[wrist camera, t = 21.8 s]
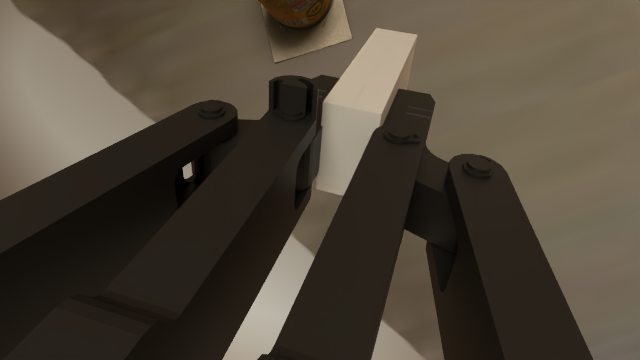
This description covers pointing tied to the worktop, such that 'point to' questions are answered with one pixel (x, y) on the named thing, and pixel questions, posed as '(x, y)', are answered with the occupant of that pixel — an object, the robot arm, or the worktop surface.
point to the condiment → (303, 25)
